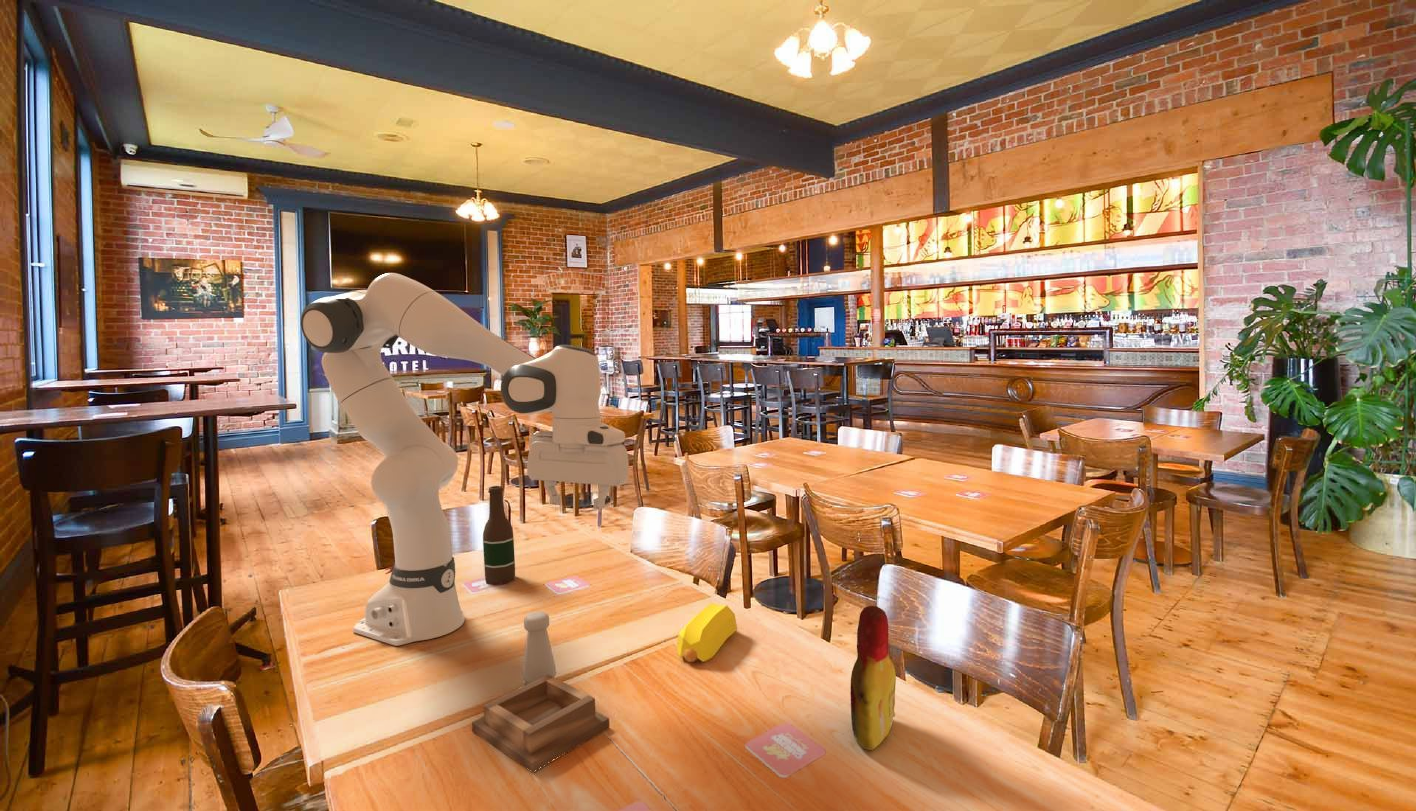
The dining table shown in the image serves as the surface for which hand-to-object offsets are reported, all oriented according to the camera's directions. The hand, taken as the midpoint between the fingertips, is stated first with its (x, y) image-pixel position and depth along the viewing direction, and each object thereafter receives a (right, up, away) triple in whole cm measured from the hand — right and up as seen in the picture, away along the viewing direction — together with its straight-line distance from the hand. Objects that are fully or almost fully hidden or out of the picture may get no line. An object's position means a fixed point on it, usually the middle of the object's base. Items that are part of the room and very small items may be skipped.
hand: (577, 506), depth 125 cm
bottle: (+49, -31, -24) cm, 63 cm away
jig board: (-1, -31, -21) cm, 38 cm away
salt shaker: (-5, -30, -8) cm, 32 cm away
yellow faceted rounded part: (+25, -29, +6) cm, 38 cm away
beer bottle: (-28, -26, +44) cm, 58 cm away
